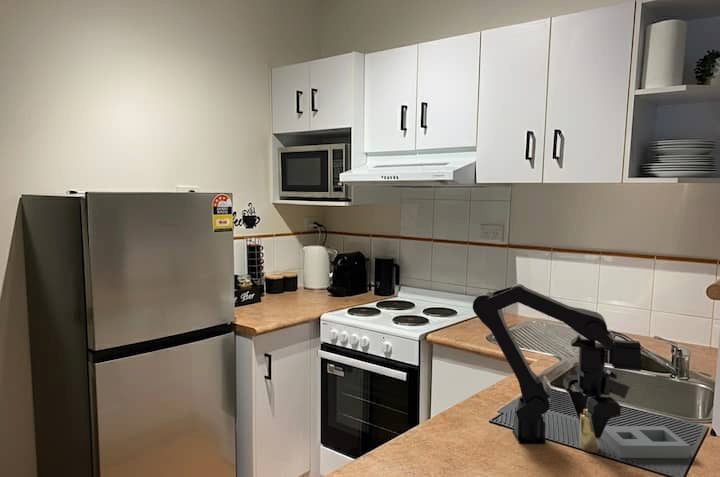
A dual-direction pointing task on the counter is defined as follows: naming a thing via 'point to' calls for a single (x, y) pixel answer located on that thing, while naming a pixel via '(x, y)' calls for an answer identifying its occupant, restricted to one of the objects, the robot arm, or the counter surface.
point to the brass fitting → (587, 433)
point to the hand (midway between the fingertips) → (589, 428)
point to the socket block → (645, 442)
